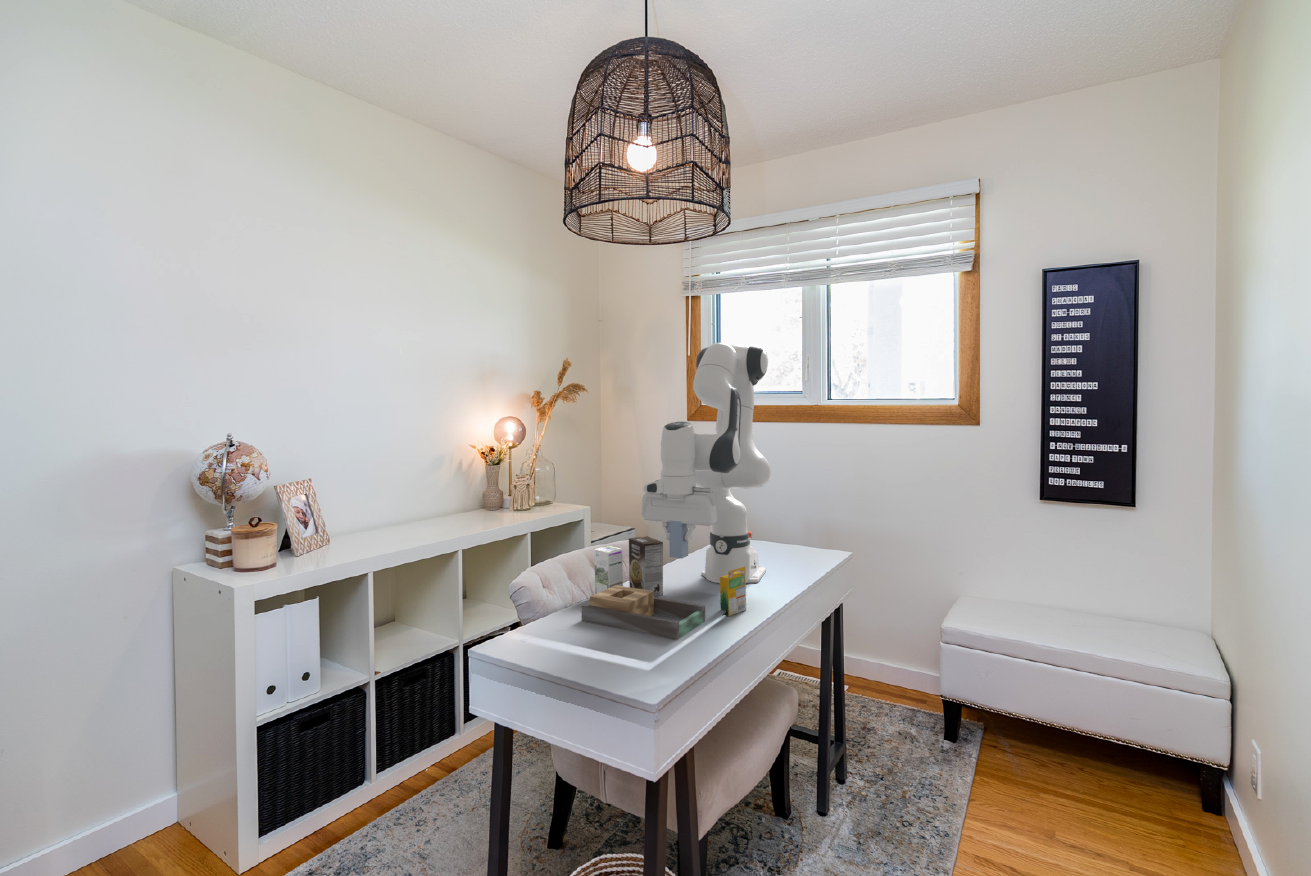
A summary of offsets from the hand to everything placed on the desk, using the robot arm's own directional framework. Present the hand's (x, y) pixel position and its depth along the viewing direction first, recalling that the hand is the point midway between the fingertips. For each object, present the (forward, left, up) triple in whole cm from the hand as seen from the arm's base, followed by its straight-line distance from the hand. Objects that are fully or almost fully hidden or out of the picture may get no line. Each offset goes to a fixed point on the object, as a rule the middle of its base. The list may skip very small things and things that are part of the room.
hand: (678, 540), depth 163 cm
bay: (+12, -4, -19) cm, 23 cm away
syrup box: (-1, -23, -19) cm, 30 cm away
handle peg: (0, 0, -4) cm, 4 cm away
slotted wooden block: (+12, -10, -18) cm, 24 cm away
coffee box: (-9, -16, -19) cm, 27 cm away
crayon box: (-8, +11, -19) cm, 24 cm away
